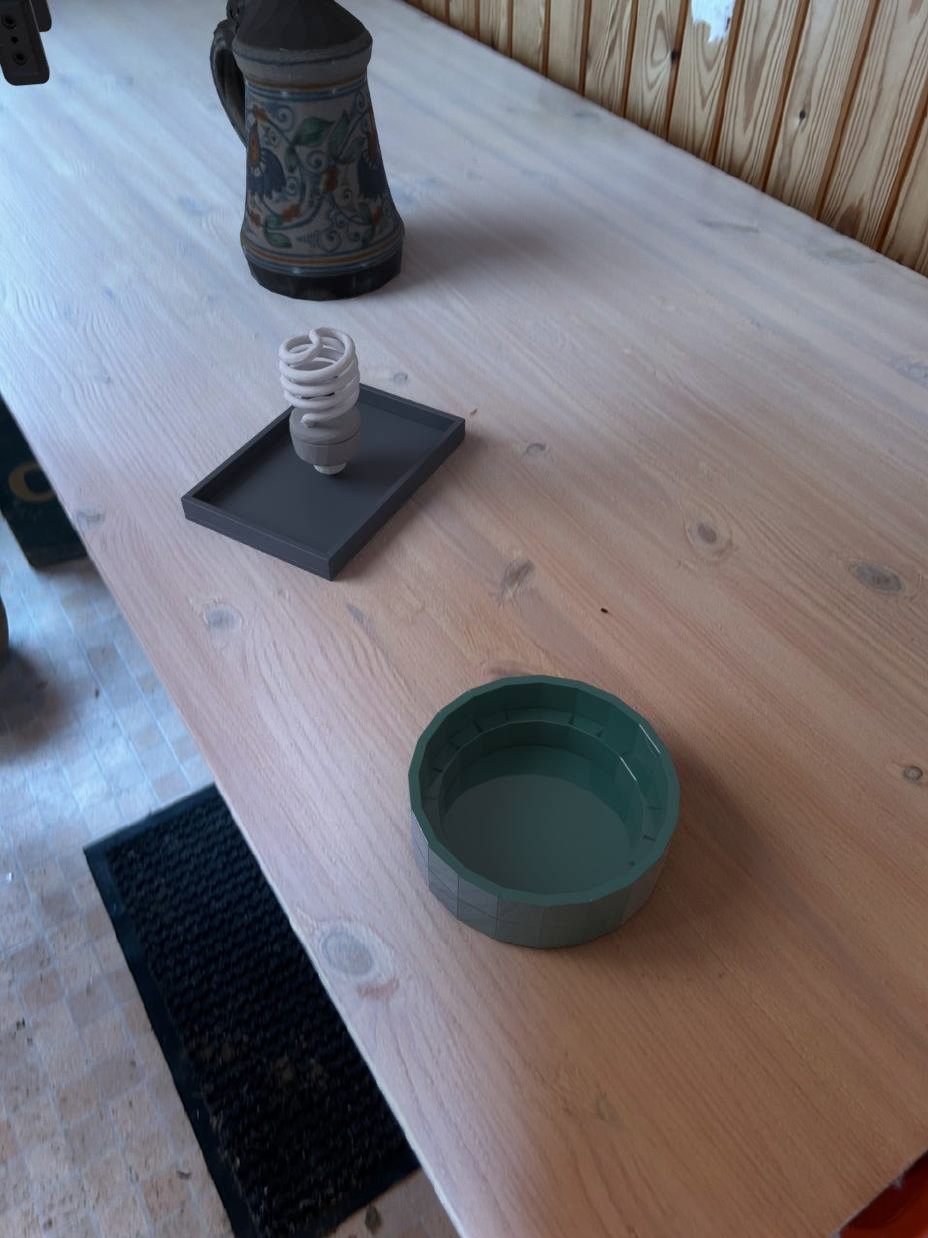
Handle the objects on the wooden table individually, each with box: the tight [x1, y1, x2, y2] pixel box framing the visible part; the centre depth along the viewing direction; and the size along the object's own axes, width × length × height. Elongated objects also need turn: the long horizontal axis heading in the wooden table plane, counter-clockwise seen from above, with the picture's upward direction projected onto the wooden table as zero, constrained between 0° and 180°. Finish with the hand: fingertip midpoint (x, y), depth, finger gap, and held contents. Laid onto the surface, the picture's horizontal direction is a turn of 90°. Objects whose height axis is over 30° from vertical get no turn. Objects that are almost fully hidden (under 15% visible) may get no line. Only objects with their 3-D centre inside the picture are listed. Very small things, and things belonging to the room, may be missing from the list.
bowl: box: [407, 674, 681, 949], centre depth 53 cm, size 14×14×5 cm
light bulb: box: [278, 326, 362, 475], centre depth 71 cm, size 6×6×12 cm
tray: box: [180, 376, 466, 582], centre depth 75 cm, size 19×13×2 cm
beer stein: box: [209, 0, 406, 302], centre depth 90 cm, size 16×19×25 cm
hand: (32, 55), depth 52 cm, fingers open, 8 cm apart
